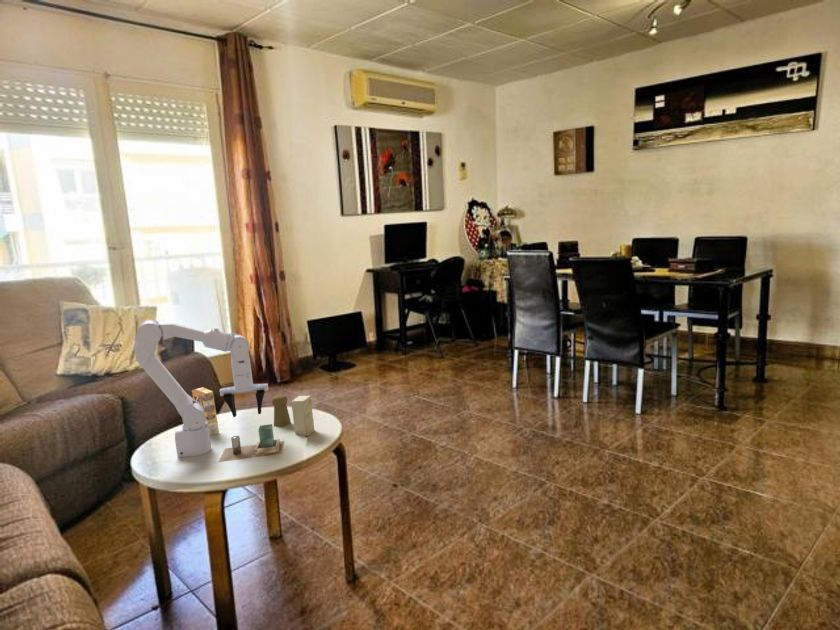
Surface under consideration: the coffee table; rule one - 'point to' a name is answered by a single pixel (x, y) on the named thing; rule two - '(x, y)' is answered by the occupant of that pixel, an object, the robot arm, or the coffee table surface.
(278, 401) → the cork
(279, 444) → the brown board
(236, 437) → the brushed metal cylinder
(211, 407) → the candy box
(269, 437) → the peg
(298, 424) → the skincare box
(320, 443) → the coffee table surface
